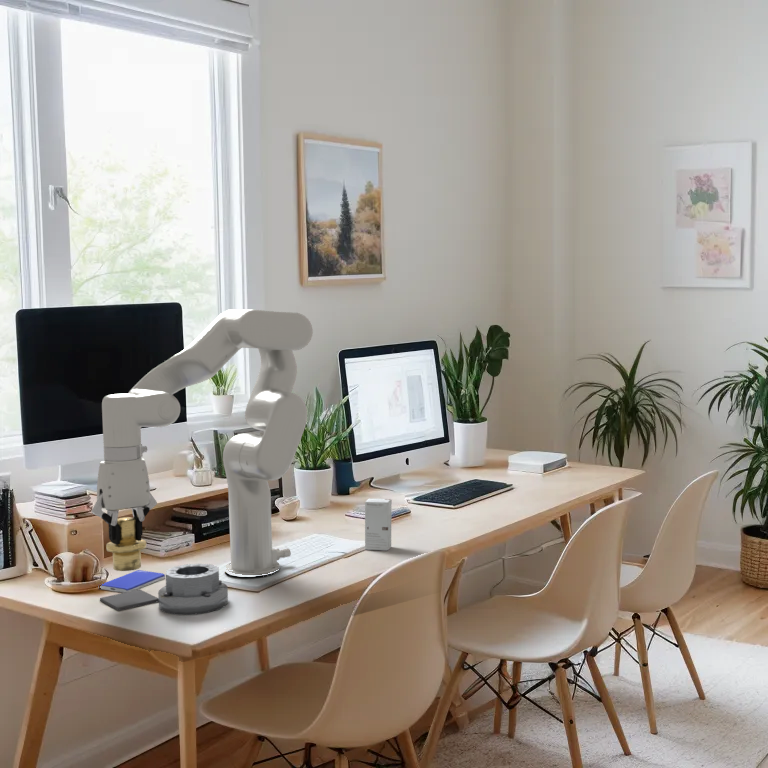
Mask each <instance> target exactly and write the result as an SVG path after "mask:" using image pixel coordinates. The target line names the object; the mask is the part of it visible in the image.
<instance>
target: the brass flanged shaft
mask: <svg viewBox="0 0 768 768" xmlns="http://www.w3.org/2000/svg"><path fill="white" fill-rule="evenodd" d="M117 525H119V526H120V544H118V545H116V544H114V543H111V541H109V542H107V543H106V546H105V547H106V551H107V552H110V553H112V567H113V569H112V570H114V571H116V572H131V571H137V570H140V568H142V558H141V557H142V554H141V552H142V550H145V549H146V548H147V541H146V540H145V539H142V538H141V541H137V540H136V522H135V518H134V517H129V516H126V517H120V518H119V517H118V519H117Z"/></svg>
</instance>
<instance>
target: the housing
mask: <svg viewBox="0 0 768 768" xmlns="http://www.w3.org/2000/svg"><path fill="white" fill-rule="evenodd" d="M219 570H220V568H219V566H217V565H214V564H212V563H211V564H210V563H209V564H208V563H187V564H181V565H177V566H173V567H170V568H169V569H166V571H165V586H163V587H161V588H160V589H158V593H157V595H158V597H157V598H159V602H158V609H159V610H160V611H161V612H164V613H166V614H171V615H179V616H185V615H186V616H187V615H188V616H189V615H190V616H191V615H201V614H207V613H212V612H215V611H218V610H220V609H222V608H224V607H226V606H227V605H228V603H229V591H228V590H229V589H228V585H227V584H226V583H224V582H222V580H220V574H219V573H220V571H219Z"/></svg>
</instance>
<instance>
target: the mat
mask: <svg viewBox="0 0 768 768" xmlns="http://www.w3.org/2000/svg"><path fill="white" fill-rule="evenodd" d="M99 601H100V602H102V603H104V604H105V605H107V606H109V607H111V608H112V609H115V610H116V611H123V610H127V609H128V610H129V609H132V608H137V607H141V606H145V605H146V606H147V605H150V604H153V603H159V598H158V597H157V596H155V595H152V594H151V593H148V592H147V591H144V590H142V589H141V588H139V589H137V590H134V591H130V592H125V593H123V592H120V593H117V594H113V595H108V596H104V597H103V596H102V597H99Z"/></svg>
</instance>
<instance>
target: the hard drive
mask: <svg viewBox="0 0 768 768" xmlns="http://www.w3.org/2000/svg"><path fill="white" fill-rule="evenodd" d="M164 579H166V573H162V572H157V571H156V572H154V571H148V570H140V569H136V570H133V571H132V572H129V573H126V574H125V575H122V576H119V577H116V578H114V579H113V578H112V580H109V581H106V582H104V584H103V583H101V584H102V585H101V584H100V585H101V586H100V588H101V589H100V590H105V591H110V592H118V593H125V592H130V591H135V590H139V589H141V588H144V587H146V586H149V585H152V584H154V583H157V582H159V581H161V580H164Z"/></svg>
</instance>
